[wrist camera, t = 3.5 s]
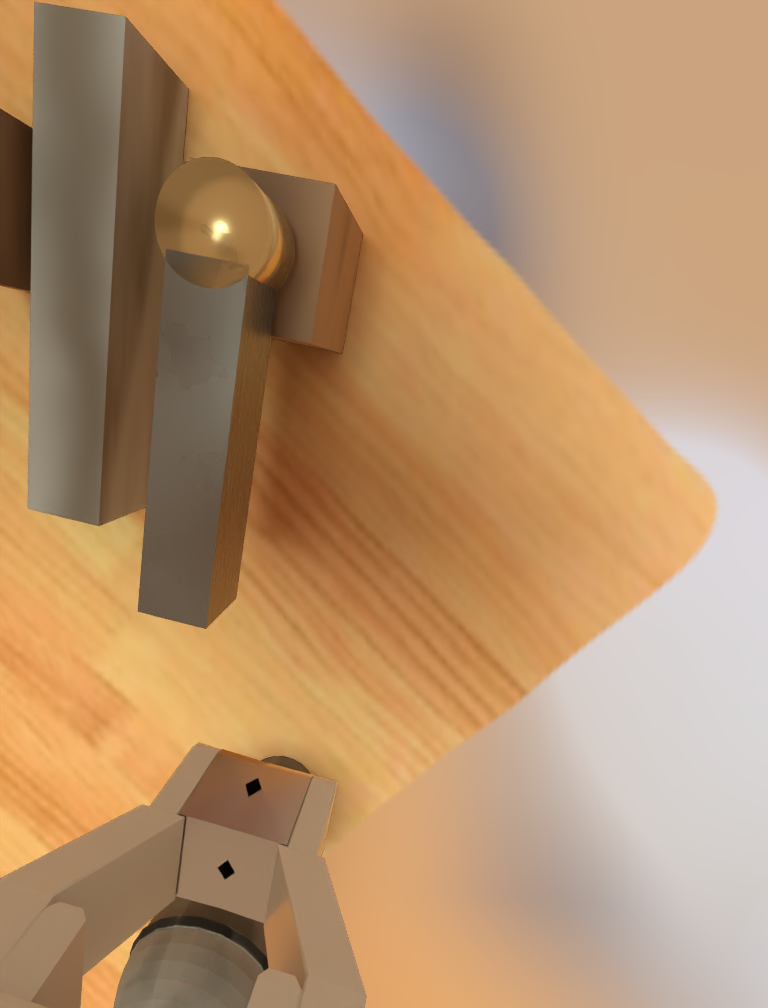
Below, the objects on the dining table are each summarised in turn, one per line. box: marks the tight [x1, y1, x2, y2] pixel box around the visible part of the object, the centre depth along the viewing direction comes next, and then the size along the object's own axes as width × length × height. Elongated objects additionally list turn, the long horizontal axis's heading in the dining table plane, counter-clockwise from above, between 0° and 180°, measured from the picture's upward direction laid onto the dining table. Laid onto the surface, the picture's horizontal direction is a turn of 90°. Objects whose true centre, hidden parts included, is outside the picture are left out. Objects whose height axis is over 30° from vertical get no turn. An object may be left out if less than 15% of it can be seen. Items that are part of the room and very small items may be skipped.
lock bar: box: [138, 157, 295, 629], centre depth 20 cm, size 17×4×3 cm, turn 169°
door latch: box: [0, 2, 363, 526], centre depth 22 cm, size 19×22×10 cm
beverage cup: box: [114, 756, 310, 1008], centre depth 24 cm, size 7×7×20 cm
